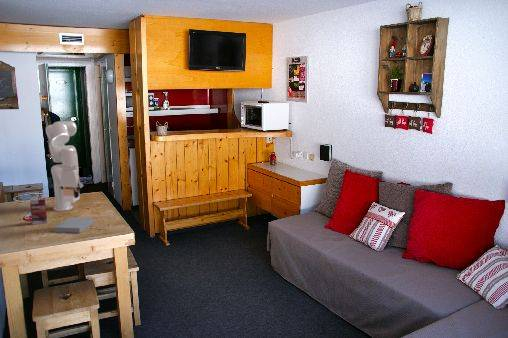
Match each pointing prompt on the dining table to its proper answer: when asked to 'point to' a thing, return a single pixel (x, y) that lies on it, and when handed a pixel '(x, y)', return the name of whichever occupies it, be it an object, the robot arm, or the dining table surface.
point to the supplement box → (38, 210)
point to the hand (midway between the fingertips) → (71, 196)
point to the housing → (70, 194)
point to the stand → (73, 225)
